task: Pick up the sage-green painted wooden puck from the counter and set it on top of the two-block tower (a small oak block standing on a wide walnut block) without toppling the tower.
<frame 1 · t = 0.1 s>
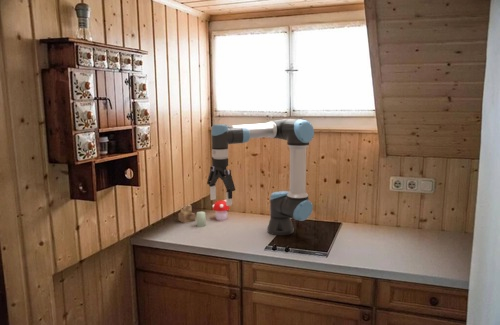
hand: (221, 202, 202), 28 cm above the worktop, fingers open, 13 cm apart
mushroom: (221, 219, 272), on the worktop
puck: (201, 225, 259), on the worktop
tower top: (186, 213, 268), point 5 cm above the worktop, touching tower base
tower base: (186, 220, 269), on the worktop, touching tower top
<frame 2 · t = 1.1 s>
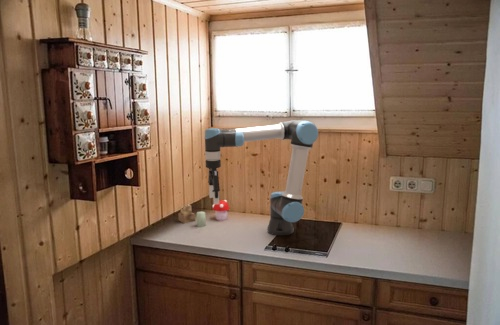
hand: (214, 200, 218), 25 cm above the worktop, fingers open, 13 cm apart
nothing on the worktop moved.
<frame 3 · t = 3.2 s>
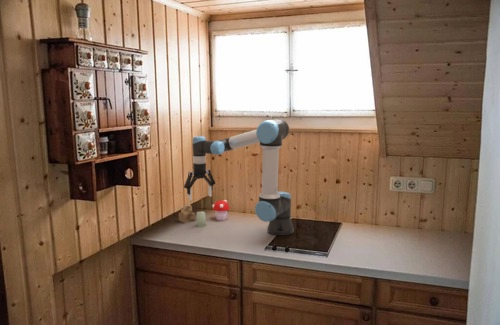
hand: (200, 197, 256), 17 cm above the worktop, fingers open, 13 cm apart
tower top: (186, 213, 268), point 5 cm above the worktop
tower base: (187, 221, 268), on the worktop
everything else where it was.
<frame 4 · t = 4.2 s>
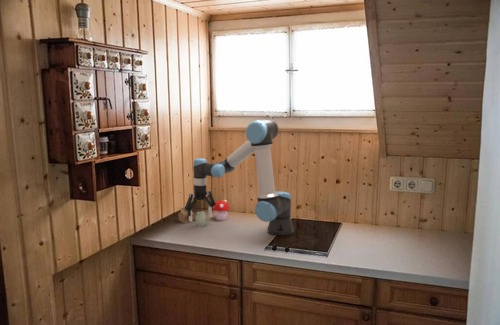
hand: (200, 219, 258), 4 cm above the worktop, fingers open, 13 cm apart
tower top: (186, 213, 268), point 5 cm above the worktop, touching tower base
tower base: (186, 221, 268), on the worktop, touching tower top
everything else where it was.
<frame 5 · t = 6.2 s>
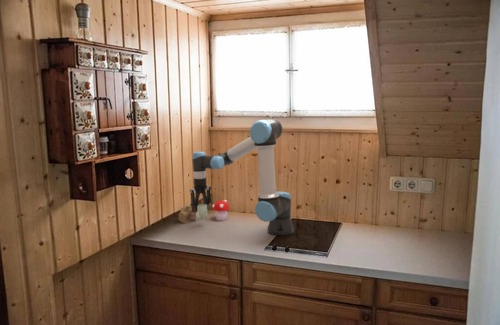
hand: (201, 215, 257), 6 cm above the worktop, fingers closed on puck, 5 cm apart
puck: (201, 218, 258), point 4 cm above the worktop, touching gripper
everything else where it was.
when the fingers open (10 cm above the worktop, at t = 9.2 s): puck stays where it is, resting on tower top.
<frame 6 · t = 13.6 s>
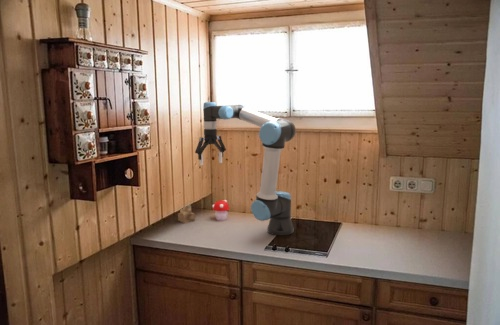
hand: (211, 163, 257), 37 cm above the worktop, fingers open, 13 cm apart
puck: (185, 205, 267), point 10 cm above the worktop, tilted 5°, touching tower top
tower top: (185, 213, 267), point 5 cm above the worktop, touching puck, tower base
everything else where it was.
at the end: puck 0.3 cm off-centre on the tower top, point 5.2 cm above the tower top's base; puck tilted 5°; tower top 0.4 cm off-centre on the tower base, point 5.0 cm above the tower base's base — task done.
